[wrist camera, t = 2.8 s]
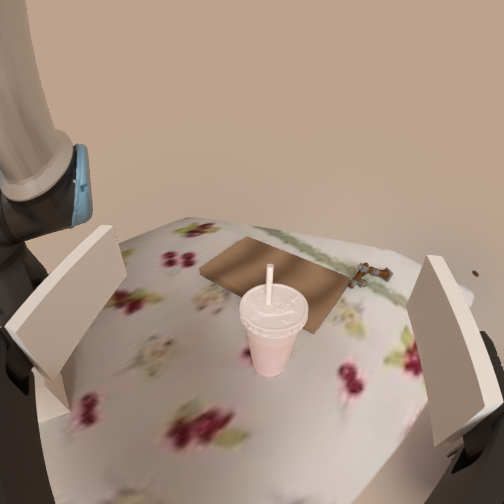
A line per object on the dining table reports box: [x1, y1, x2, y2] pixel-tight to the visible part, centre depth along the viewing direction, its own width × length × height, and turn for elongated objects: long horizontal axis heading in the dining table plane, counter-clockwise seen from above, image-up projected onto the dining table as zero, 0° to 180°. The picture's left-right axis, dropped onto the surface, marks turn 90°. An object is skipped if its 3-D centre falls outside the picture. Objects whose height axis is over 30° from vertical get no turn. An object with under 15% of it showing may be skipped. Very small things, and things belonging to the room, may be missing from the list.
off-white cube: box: [31, 367, 71, 423], centre depth 22 cm, size 6×6×6 cm
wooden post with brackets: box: [349, 263, 393, 288], centre depth 42 cm, size 2×8×4 cm, turn 108°
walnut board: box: [199, 237, 351, 334], centre depth 43 cm, size 20×12×1 cm, turn 53°
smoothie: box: [239, 264, 308, 377], centre depth 27 cm, size 6×6×14 cm
